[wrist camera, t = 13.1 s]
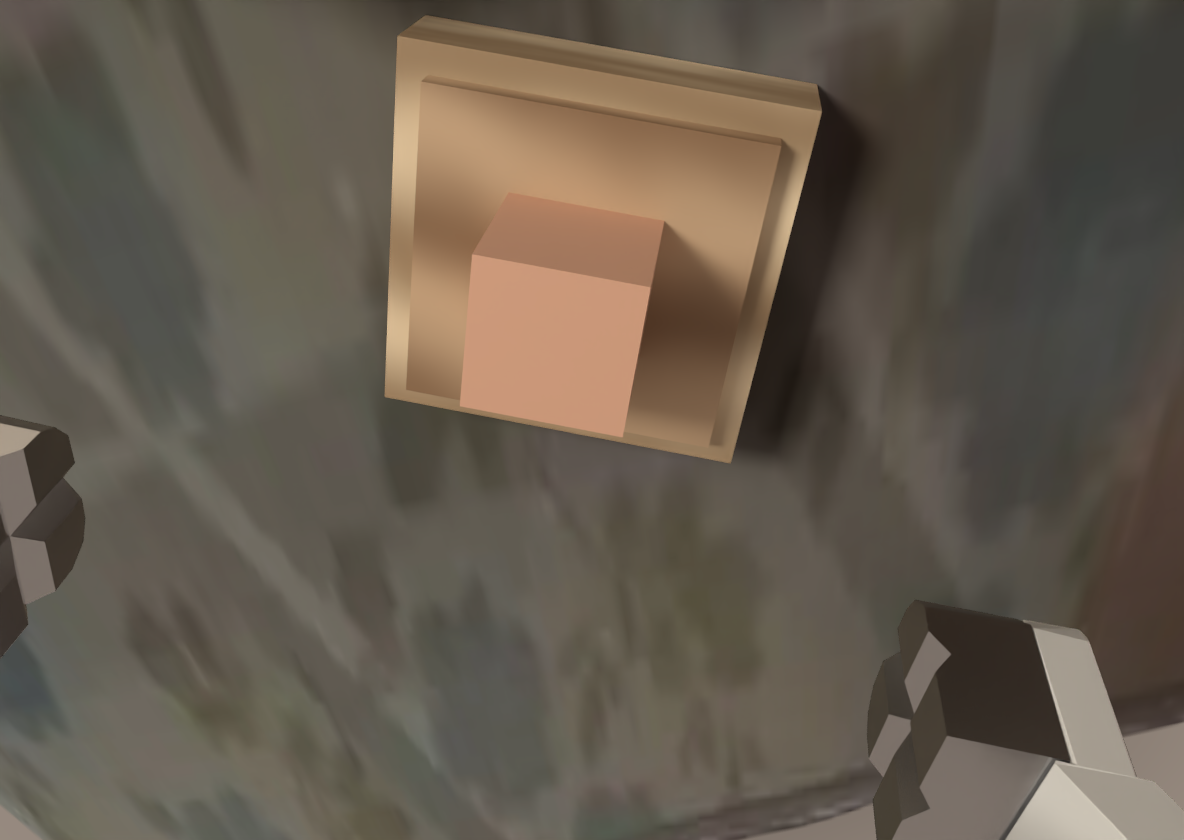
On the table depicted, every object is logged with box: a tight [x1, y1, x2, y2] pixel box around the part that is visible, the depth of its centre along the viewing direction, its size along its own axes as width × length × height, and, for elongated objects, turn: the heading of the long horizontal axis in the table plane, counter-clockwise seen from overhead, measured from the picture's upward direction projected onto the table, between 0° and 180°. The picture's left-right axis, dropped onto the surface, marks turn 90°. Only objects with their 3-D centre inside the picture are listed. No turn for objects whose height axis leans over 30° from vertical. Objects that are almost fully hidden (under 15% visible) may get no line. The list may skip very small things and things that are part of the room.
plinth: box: [385, 15, 822, 463], centre depth 36 cm, size 13×13×4 cm
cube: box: [460, 192, 664, 437], centre depth 32 cm, size 5×5×5 cm
